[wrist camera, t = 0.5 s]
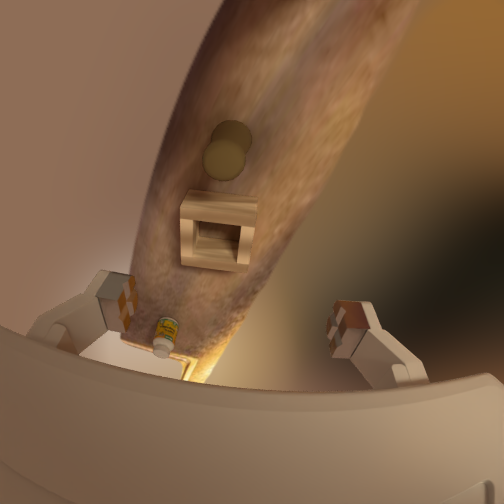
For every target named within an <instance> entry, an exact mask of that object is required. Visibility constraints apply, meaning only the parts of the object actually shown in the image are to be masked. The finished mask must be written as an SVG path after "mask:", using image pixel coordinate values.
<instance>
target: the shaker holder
mask: <svg viewBox="0 0 504 504" xmlns="http://www.w3.org/2000/svg"><path fill="white" fill-rule="evenodd" d="M257 200H258V197H252V196H244V195H236V194H228V193H219V192H211V191H202V190H192V189H189V190H188V192H187V194H186V196H185V198H184V200H183V202H182V204H181V206H180V242H181V265H186V266H194V267H201V268H209V269H216V270H224V271H232V272H240V273H247V272H248V266H249V260H250V254H251V248H252V242H253V236H254V230H255V224H256V218H257ZM199 221H205V222H214V223H222V224H230V225H238V226H241V232H240V240H239V241H232V240H224V239H216V238H208V237H200V236H199Z"/></svg>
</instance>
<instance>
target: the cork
mask: <svg viewBox="0 0 504 504" xmlns="http://www.w3.org/2000/svg"><path fill="white" fill-rule="evenodd" d="M251 143H252V136H251V133H250V130H249V129H248V128H247V126H245V125H244V124H243V123H241V122H238V121H235V120H228V121H225V122H222V123H221V124H219V125H218V126H217V127H216V128H215V129H214V131H213V134H212V138H211V144H209V145H208V147H207V148H206V149H205V151H204V153H203V157H202V163H203V167H204V170H205V172H206V173H207V174H208V175H209V176H210V177H212V178H213V179H216V180H219V181H229V180H232V179H234V178H236V177H237V176H239V174H240V173H241V172H242V171H243V169H244V166H245V154H246V153H247V151H248V150H249V148H250V146H251Z"/></svg>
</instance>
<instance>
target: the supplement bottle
mask: <svg viewBox="0 0 504 504" xmlns="http://www.w3.org/2000/svg"><path fill="white" fill-rule="evenodd" d="M178 327H179V325H178V323H177V321H175V320H174V319H172V318H169V317H163V318H161V319H159V321H158V325H157V328H156V332H155V335H154V339H153V345H154V349H153V353H154V355H156V356H157V357H160V358H168V357H169V355H170V351H171V350H173V348H174V345H175V340H176V336H177V332H178Z"/></svg>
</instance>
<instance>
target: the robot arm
mask: <svg viewBox="0 0 504 504" xmlns="http://www.w3.org/2000/svg"><path fill="white" fill-rule="evenodd" d="M135 284H136V282H135V277H134V276H133V275H128V274H122V273H117V272H111V271H106V270H100V271H99V272H98V273H97V275H96V276H95V278H94V279H93V280H92V282H91V283H90V285H89V286H88V288H87V289H86V291H85V292H84V294H79V295H77V296H75V297H73V298H71V299H69V300H67V301H66V302H64V303H62V304H60V305H58V306H57V307H55V308H53V309H51V310H50V311H47V312H46V313H44V314H42V315H40V316H39V317H38V318H37V319H36V321H35V322H34V324H33V326H32V327H31V329H30V330H29V332H28V333H27V335H26V336H23V335H21V334H19V333H16V332H14V331H12V330H9V329H7V328H5V327H3V326H1V325H0V504H504V385H503V384H502V383H501V382H500V381H498V380H497V379H496V378H495V377H494V376H492V375H491V374H490V373H480V374H476V375H472V376H467V377H463V378H458V379H452V380H447V381H441V382H436V383H430V382H429V380H428V377H427V375H426V372H425V369H424V367H423V364H422V362H421V361H420V360H419V359H418V358H417V357H416V356H414V355H413V354H412V353H411V352H410V351H408V350H407V349H406V348H405V347H404V346H403V345H402V344H401V343H399V342H398V341H397V340H396V339H395V338H394V337H392V336H391V335H390V334H389V333H388V332H387V331H386V330H382V328H381V326H380V323H379V321H378V318H377V316H376V313H375V311H374V308H373V306H372V304H371V303H370V302H355V301H341V300H337V301H336V302H335V303H334V306H333V310H334V312H333V313H332V314H330V315H329V317H328V320H327V325H326V332H327V337H328V338H329V339H330V340H331V342H330V344H329V347H330V352H331V357H332V358H350V359H351V361H352V362H353V364H354V365H355V366H356V367H357V368H358V370H359V371H360V372H361V374H362V375H363V376H364V377H365V379H366V380H367V381H368V382H369V383H370V385H371V386H372V387H373V388H374V389H373V390H361V391H333V392H332V391H329V392H328V391H327V392H308V391H307V392H306V391H276V390H260V389H247V388H236V387H226V386H219V385H210V384H203V383H197V382H190V381H184V380H178V379H172V378H167V377H162V376H156V375H152V374H147V373H142V372H138V371H134V370H129V369H125V368H121V367H117V366H113V365H109V364H106V363H102V362H99V361H95V360H92V359H88V358H85V357H81V356H79V354H80V353H81V352H82V351H83V350H84V349H86V348H87V347H88V346H89V345H91V344H92V343H93V342H94V341H96V339H98V338H99V337H100V336H102V335H103V334H104V333H106V332H107V331H108V330H111V331H116V332H121V333H126V332H127V330H128V327H129V325H130V323H131V320H130V316H132V315H133V314H135V311H136V309H137V304H138V294H137V291H136V290H135V289H134V286H135Z"/></svg>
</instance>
